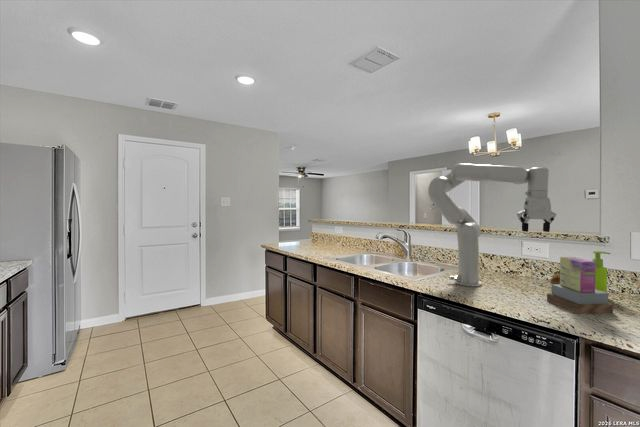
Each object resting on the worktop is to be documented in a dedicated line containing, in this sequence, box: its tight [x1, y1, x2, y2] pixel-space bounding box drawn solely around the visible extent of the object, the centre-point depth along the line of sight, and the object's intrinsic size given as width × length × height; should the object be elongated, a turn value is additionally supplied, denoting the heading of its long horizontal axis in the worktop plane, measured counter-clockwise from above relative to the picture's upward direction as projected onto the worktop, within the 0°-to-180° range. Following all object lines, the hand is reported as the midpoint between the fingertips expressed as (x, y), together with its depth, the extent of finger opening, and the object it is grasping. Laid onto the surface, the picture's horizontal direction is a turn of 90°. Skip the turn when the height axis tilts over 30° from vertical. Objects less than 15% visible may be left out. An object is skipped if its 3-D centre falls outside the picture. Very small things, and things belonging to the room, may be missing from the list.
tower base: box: [546, 292, 614, 315], centre depth 117 cm, size 13×15×4 cm
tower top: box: [551, 284, 609, 304], centre depth 117 cm, size 11×13×4 cm
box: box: [559, 256, 596, 292], centre depth 117 cm, size 10×6×12 cm, turn 177°
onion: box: [549, 270, 560, 285], centre depth 145 cm, size 8×8×8 cm
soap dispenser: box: [592, 250, 612, 293], centre depth 128 cm, size 6×7×20 cm
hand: (535, 231), depth 136 cm, fingers open, 9 cm apart
